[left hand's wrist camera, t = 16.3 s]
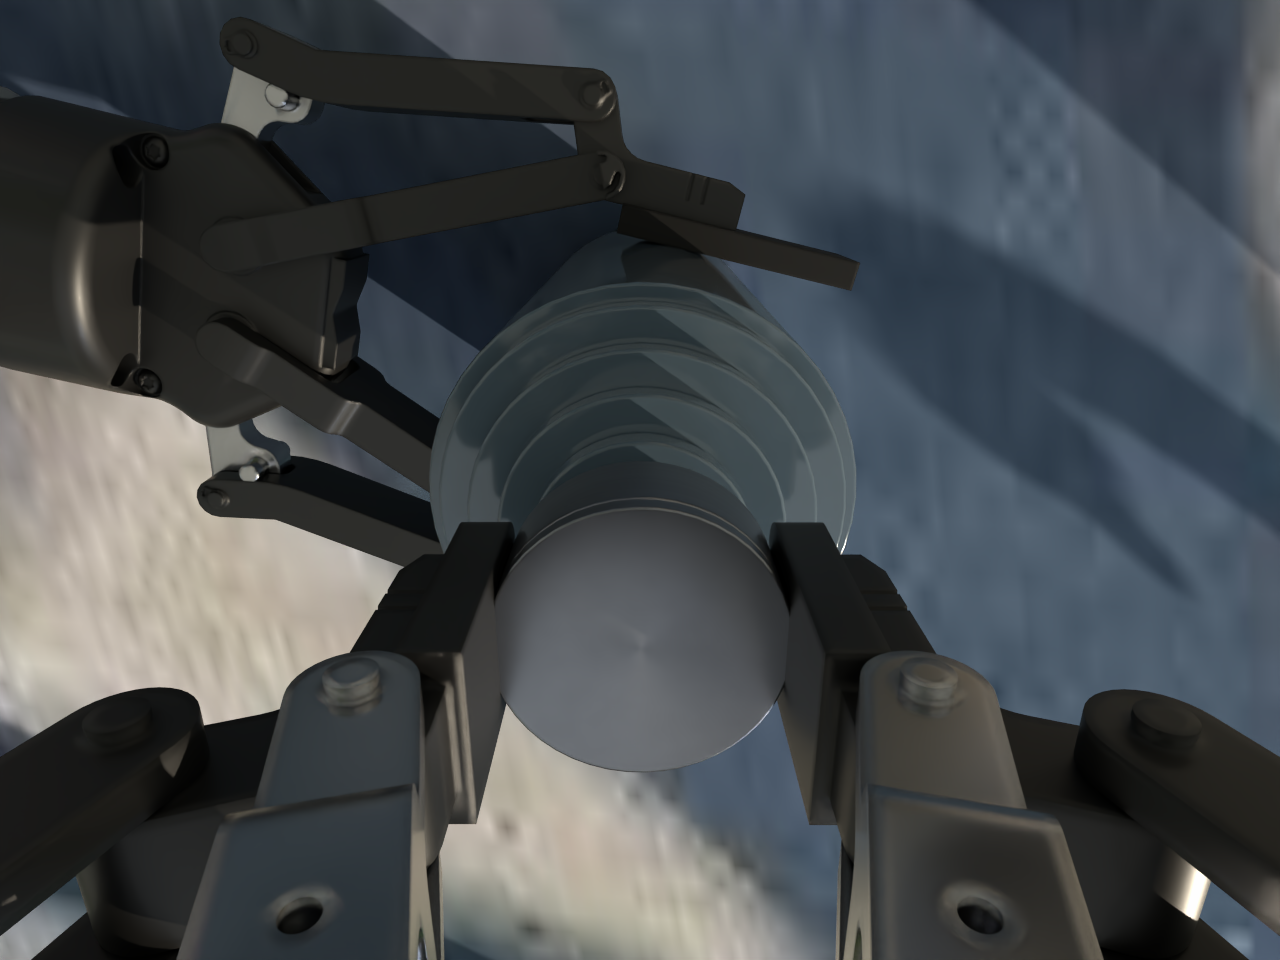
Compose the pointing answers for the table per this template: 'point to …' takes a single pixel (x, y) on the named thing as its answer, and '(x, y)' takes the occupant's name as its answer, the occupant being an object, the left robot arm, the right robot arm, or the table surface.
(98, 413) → the table surface
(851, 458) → the bottle
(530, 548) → the metal cylinder
